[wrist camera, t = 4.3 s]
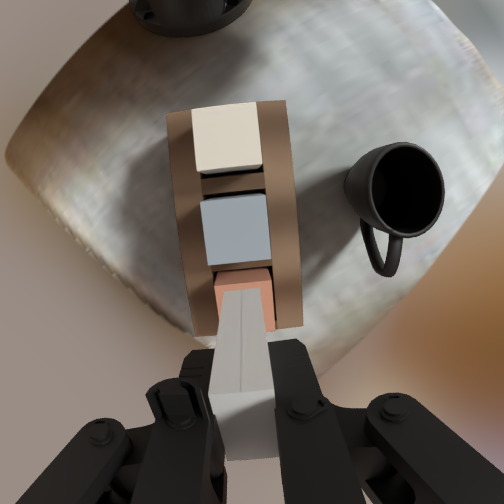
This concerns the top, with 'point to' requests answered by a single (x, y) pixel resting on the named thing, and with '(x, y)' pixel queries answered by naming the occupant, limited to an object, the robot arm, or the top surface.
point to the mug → (394, 198)
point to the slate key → (236, 228)
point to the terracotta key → (248, 280)
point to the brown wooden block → (229, 184)
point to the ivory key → (226, 138)
